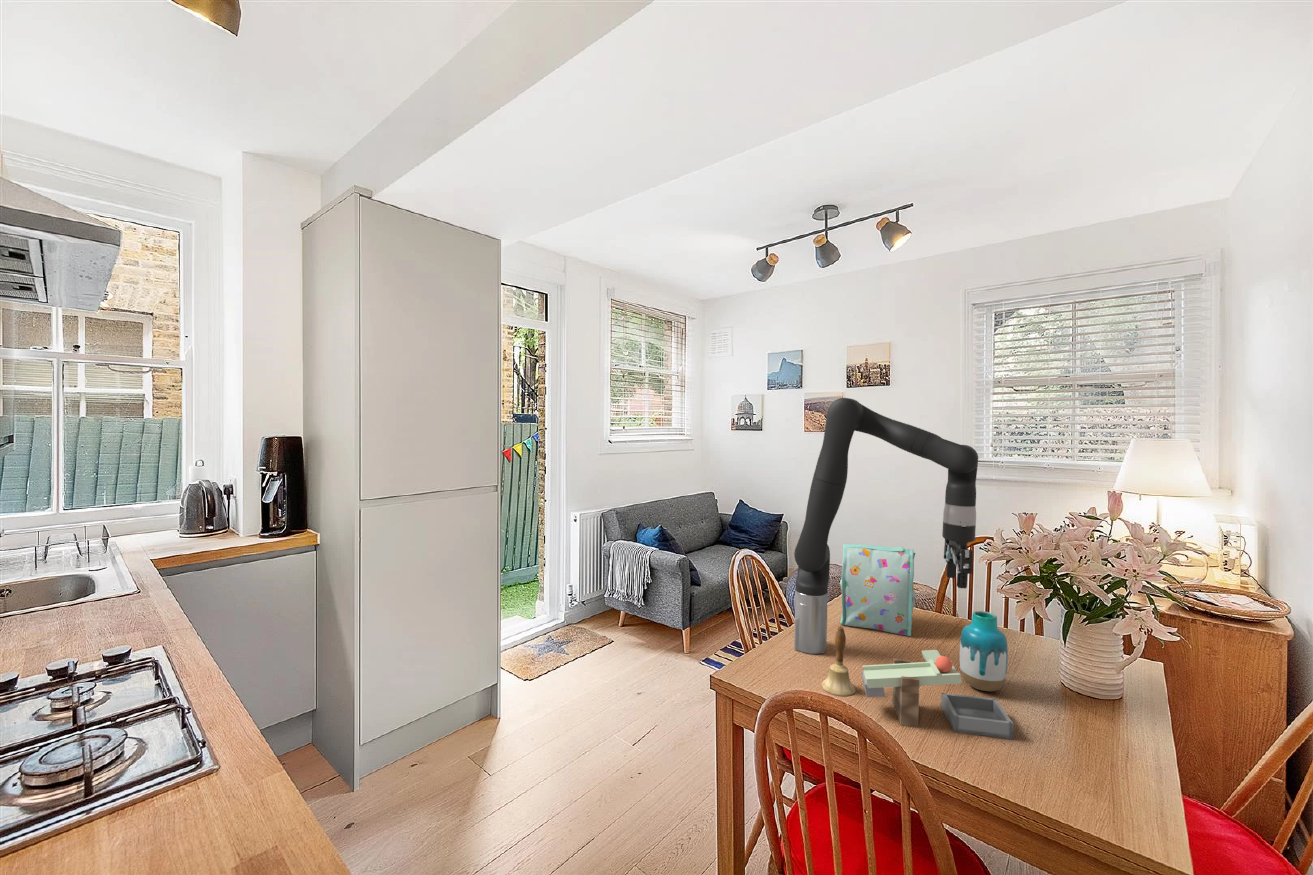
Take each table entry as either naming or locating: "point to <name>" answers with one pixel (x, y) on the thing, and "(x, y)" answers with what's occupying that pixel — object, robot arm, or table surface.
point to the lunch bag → (878, 588)
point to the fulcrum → (906, 699)
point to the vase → (983, 653)
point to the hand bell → (839, 670)
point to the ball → (943, 664)
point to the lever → (906, 674)
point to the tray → (976, 716)
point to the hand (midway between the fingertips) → (956, 582)
